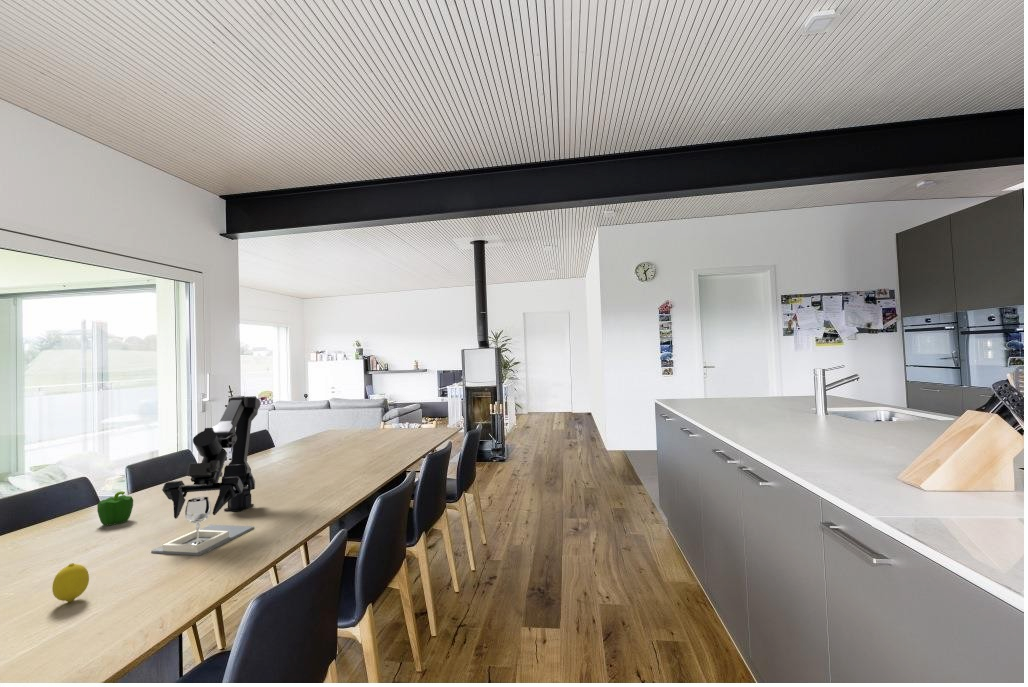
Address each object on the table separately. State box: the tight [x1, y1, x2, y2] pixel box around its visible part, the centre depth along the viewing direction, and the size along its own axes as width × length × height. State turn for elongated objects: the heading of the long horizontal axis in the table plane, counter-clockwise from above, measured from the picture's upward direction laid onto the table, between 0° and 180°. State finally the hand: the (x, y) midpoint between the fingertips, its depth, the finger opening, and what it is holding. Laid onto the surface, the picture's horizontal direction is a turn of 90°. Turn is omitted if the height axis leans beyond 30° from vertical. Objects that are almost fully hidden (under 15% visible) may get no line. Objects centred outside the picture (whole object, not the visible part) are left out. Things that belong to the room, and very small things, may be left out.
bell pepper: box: [96, 490, 134, 526], centre depth 143 cm, size 8×8×10 cm
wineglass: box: [184, 496, 212, 545], centre depth 124 cm, size 6×6×12 cm
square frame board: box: [151, 524, 255, 557], centre depth 127 cm, size 15×19×2 cm
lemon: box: [51, 562, 90, 603], centre depth 95 cm, size 6×6×8 cm
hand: (194, 516), depth 122 cm, fingers open, 9 cm apart
